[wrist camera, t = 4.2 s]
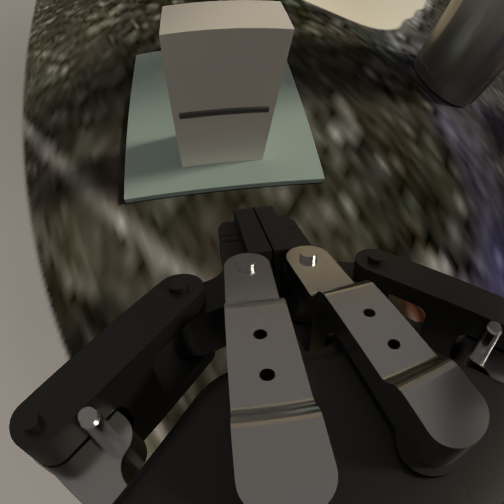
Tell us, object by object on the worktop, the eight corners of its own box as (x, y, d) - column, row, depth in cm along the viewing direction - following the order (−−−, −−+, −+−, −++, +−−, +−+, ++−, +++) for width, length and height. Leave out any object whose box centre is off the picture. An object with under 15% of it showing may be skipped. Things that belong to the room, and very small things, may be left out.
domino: (256, 127, 23) (279, 0, 12) (262, 161, 23) (295, 30, 11) (180, 134, 23) (162, 5, 11) (182, 169, 22) (158, 36, 10)
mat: (279, 47, 27) (280, 43, 27) (322, 182, 23) (324, 178, 23) (137, 58, 25) (136, 55, 25) (126, 203, 21) (124, 199, 21)
